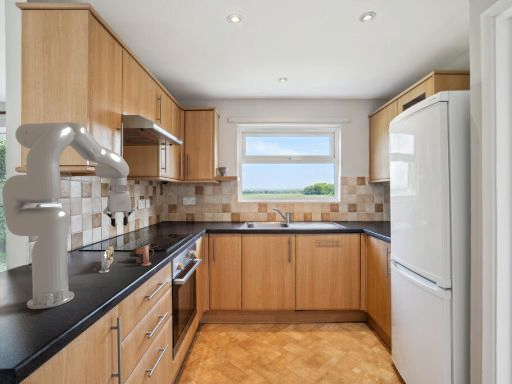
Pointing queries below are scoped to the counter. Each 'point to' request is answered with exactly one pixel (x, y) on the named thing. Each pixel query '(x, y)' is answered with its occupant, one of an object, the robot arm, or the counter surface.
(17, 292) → the counter surface
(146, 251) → the post
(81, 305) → the counter surface
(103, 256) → the clear glass cylinder
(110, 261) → the gate
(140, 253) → the pottery mug
